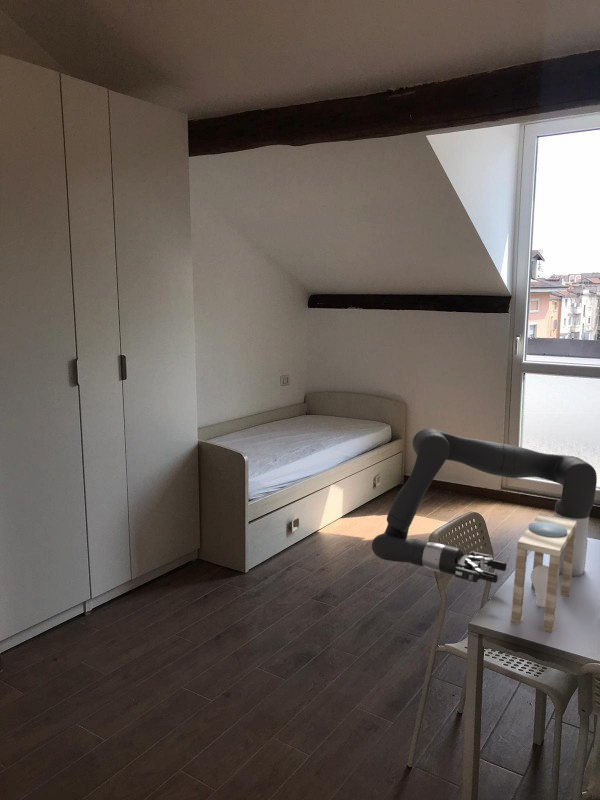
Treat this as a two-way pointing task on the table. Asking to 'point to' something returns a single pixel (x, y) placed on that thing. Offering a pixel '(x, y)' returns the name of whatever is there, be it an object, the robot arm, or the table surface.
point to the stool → (542, 539)
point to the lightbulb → (540, 583)
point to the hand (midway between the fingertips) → (501, 572)
